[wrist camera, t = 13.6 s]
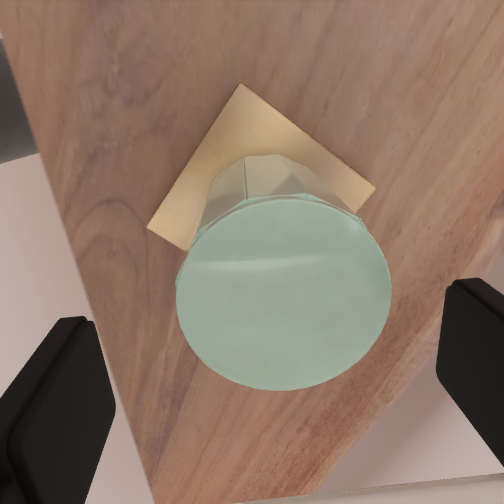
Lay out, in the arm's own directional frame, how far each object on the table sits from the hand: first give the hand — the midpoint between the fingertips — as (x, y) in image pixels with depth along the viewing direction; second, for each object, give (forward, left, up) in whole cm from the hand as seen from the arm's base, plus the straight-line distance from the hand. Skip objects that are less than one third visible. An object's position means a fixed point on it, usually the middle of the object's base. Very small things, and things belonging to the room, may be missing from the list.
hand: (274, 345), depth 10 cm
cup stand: (0, 0, -16) cm, 16 cm away
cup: (+1, 0, -12) cm, 12 cm away
